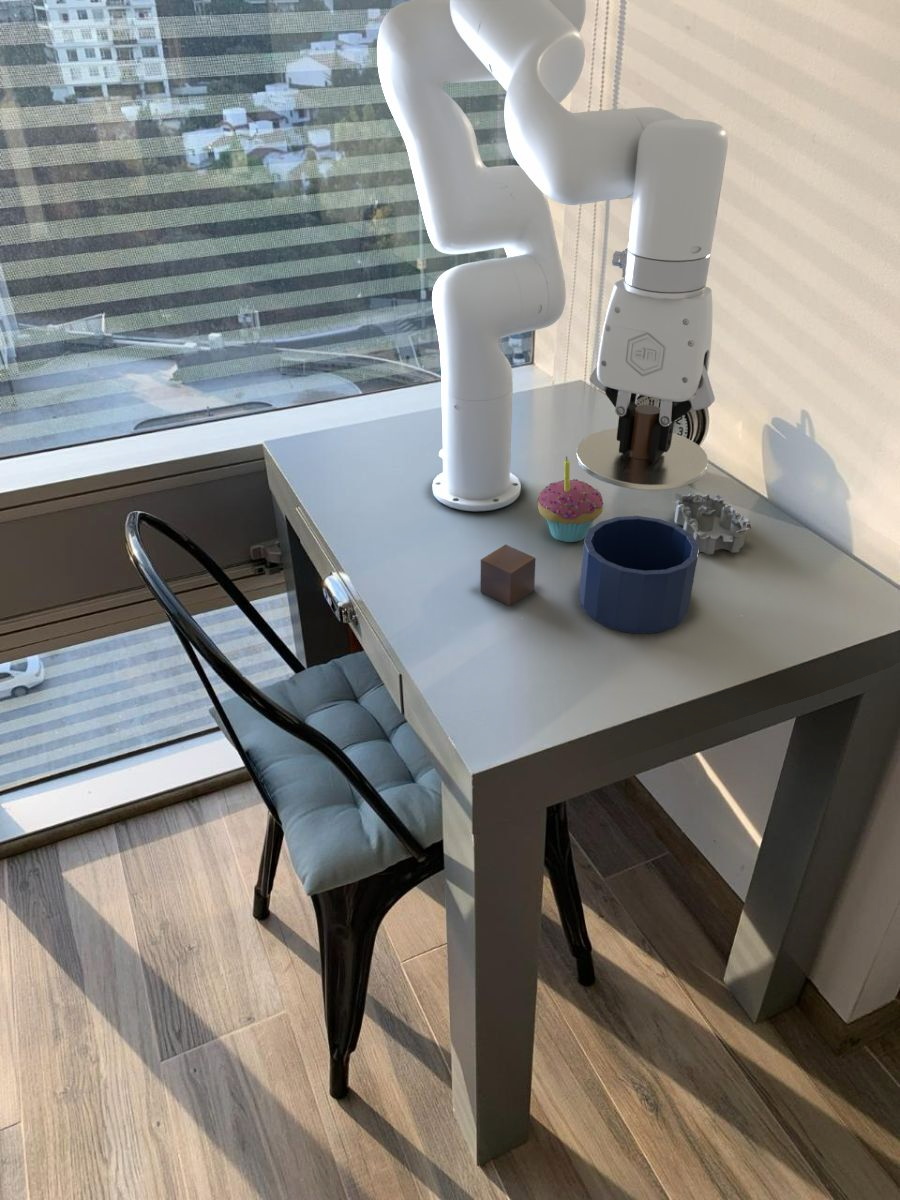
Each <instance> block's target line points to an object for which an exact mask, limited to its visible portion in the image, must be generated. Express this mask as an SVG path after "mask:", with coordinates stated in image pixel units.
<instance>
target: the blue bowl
mask: <svg viewBox="0 0 900 1200" xmlns="http://www.w3.org/2000/svg"><path fill="white" fill-rule="evenodd" d="M699 553H700V551H699V545H698V544H697V542H696V540H695V539H694V537H693V536H692V535H691V534H690V533H688V532H687V531H685V530H684V529H683V528H682V527H681V525H678V524H676V523H672V522H670V521H667V520H664V519H661V518H656V517H648V516H642V515H623V516H616V517H612V518H609V519H604V520H602V521H599V522H598V523H597V524H595V525H593V526H592V527H590V528H589V530H588V532H587V534H586V536H585V538H584V540H583V548H582V559H581V570H580V571H581V572H580V582H579V595H578V596H579V601H580V605H581V607H582V610H583V611H584V612H585V613H586V614H587V616H589V618H591V619H592V620H594V621H595V622H597V623H598V624H600V625H602V626H604V627H607V628H609V629H612V630H615V631H618V632H623V633H628V634H629V633H630V634H638V635H639V634H640V635H641V634H643V635H644V634H656V633H661V632H664V631H668V630H670V629H673V628H674V627H676V626H678V625H680V624H681V623H682V622H683V621H684V620H685V619H686V618H687V615H688V613H689V609H690V603H691V597H692V592H693V585H694V581H695V574H696V570H697V565H698V564H697V563H698V557H699Z"/></svg>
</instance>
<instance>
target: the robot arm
mask: <svg viewBox="0 0 900 1200" xmlns="http://www.w3.org/2000/svg"><path fill="white" fill-rule="evenodd" d="M586 6H587V0H407V1H404V2H400V3H399V4H397V5H396V6H393V7H392V8H391V9H390V10H389V11H388V12H387V13H385V15H384V17H383V19H382V21H381V23H380V26H379V30H378V34H377V43H376V44H377V45H376V54H377V55H376V56H377V58H376V60H377V69H378V76H379V80H380V83H381V84H380V85H381V89H382V91H383V94H384V97H385V100H386V103H387V106H388V108H389V110H390V112H391V115H392V116H393V119H394V121H395V123H396V126H397V127H398V129H399V131H400V134H401V137H402V139H403V141H404V144H405V148H406V150H407V154H408V157H409V164H410V168H411V171H412V175H413V179H414V184H415V189H416V192H417V196H418V200H419V205H420V209H421V213H422V216H423V221H424V225H425V227H426V231H427V235H428V237H429V240H430V242H431V244H432V245H433V247H434V249H436V250H437V251H438V252H440V253H443V254H447V255H461V254H463V255H464V254H472V253H479V252H483V251H484V252H485V251H490V250H497V249H504V251H505V253H506V257H500V258H497V257H496V258H489V259H484V260H477V261H472V262H466V263H463V264H459V265H456V266H454V267H451V268H449V269H447V270H446V271H444V272H443V273H442V274H441V275H440V276H439V277H438V278H437V280H436V282H435V284H434V286H433V290H432V294H431V295H432V296H431V300H432V311H433V316H434V321H435V326H436V331H437V336H438V345H439V354H440V371H441V418H442V419H441V420H442V421H441V422H442V424H441V425H442V431H441V432H442V449H440V450H439V452H438V456H439V458H440V459H442V472H441V473H439V474H438V475H437V476H436V477H435V478H434V479H433V482H432V494H433V496H434V498H435V499H436V500H437V501H438V502H440V503H442V504H443V505H444V506H447V507H449V508H451V509H456V510H459V511H465V512H488V511H494V510H498V509H501V508H504V507H507V506H509V505H511V504H512V503H515V501H516V500H517V499H518V498H519V496H520V495H521V489H522V488H521V486H522V485H521V481H520V479H519V478H518V477H517V476H516V475H515V474H514V473H512V472H511V457H512V456H511V455H512V429H513V426H512V425H513V397H514V374H513V369H512V365H511V363H510V360H509V359H508V357H507V356H506V355H505V354H504V352H503V351H502V349H501V347H500V345H499V340H500V339H502V338H507V337H510V336H514V335H518V334H523V333H528V332H533V331H537V330H542V329H545V328H548V327H550V326H552V325H554V324H555V323H557V321H559V319H560V318H561V316H562V315H563V312H564V310H565V305H566V299H567V298H566V297H567V294H566V293H567V291H566V289H567V288H566V281H565V275H564V271H563V265H562V260H561V255H560V251H559V250H560V249H559V246H558V241H557V236H556V231H555V227H554V222H553V218H552V213H551V212H552V211H551V207H550V205H549V201H548V198H550V199H551V200H553V201H555V202H557V203H559V204H563V205H565V206H567V205H568V206H578V205H585V204H586V205H587V204H593V203H599V202H604V201H606V202H607V201H613V200H625V199H632V202H631V213H630V219H629V229H628V238H627V239H628V241H627V248H625V249H624V250H622V251H618V250H615V251H614V252H613V254H612V258H611V265H612V266H613V267H618V268H619V269H621V270H622V274H621V275H622V276H621V279H620V280H617V281H616V282H615V283H614V285H613V288H612V291H611V295H610V299H609V302H608V306H607V310H606V314H605V319H604V323H603V327H602V333H601V338H600V342H599V343H600V344H599V349H598V356H597V364H596V366H595V367H594V368H593V371H592V373H591V374H590V376H589V382H590V383H591V384H593V386H595V387H596V388H598V389H599V390H600V391H601V392H604V393H605V395H606V397H607V398H608V400H609V401H610V402H611V404H612V405H613V407H614V412H615V414H616V415H617V416H618V423H617V428H618V430H617V441H620V445H619V453H623V454H624V453H627V452H628V451H629V450H630V443H631V435H632V427H633V419H634V411H635V407H637V406H638V405H637V403H638V397H639V396H644V397H648V398H649V397H650V398H655V399H658V400H660V402H659V403H660V404H659V409H660V415H659V417H658V421H657V422H656V423H655V424H654V426H653V430H652V437H651V444H650V452H649V459H650V460H651V461H656V460H657V459H658V458H659V457H660V456H661V455H662V454H663V453H664V452H667V451H668V450H669V448H670V445H671V440H672V433H674V426H675V421H678V419H680V418H681V417H684V415H686V414H688V413H690V412H696V411H701V410H704V409H708V408H709V407H711V406H712V404H713V403H714V402H715V401H716V398H715V394H714V391H713V388H712V384H711V381H710V378H709V374H708V373H709V367H710V359H711V350H712V339H713V338H712V337H713V292H712V288H711V287H708V286H707V281H708V275H709V273H708V272H709V269H710V268H709V266H710V262H711V255H712V248H713V242H714V235H715V229H716V222H717V217H718V210H719V209H718V208H719V203H720V197H721V191H722V185H723V180H724V173H725V172H724V171H725V166H726V161H727V154H728V146H729V138H728V134H727V131H726V129H725V128H724V127H723V126H722V125H720V124H718V123H716V122H713V121H709V120H704V119H694V118H692V119H691V118H684V117H681V116H679V115H677V114H675V113H674V112H672V111H669V110H667V109H663V108H660V107H653V106H648V107H647V106H643V107H642V106H641V107H630V108H614V109H613V108H612V109H611V108H610V109H601V110H590V111H581V112H571V111H570V110H568V109H567V108H565V107H564V106H563V105H562V104H561V103H562V102H563V101H565V99H566V98H567V97H568V96H569V95H570V93H571V92H572V91H573V89H574V88H575V86H576V84H577V83H578V81H579V79H580V77H581V74H582V71H583V68H584V65H585V57H586V53H585V52H586V49H585V44H584V39H583V37H582V34H581V33H580V32H581V31H582V28H583V25H584V22H585V17H586V13H587V12H586V11H587V7H586ZM489 81H497V82H498V83H499V84H500V85H501V87H502V88H503V89H504V91H506V94H505V99H504V110H503V117H504V127H505V133H506V138H507V142H508V146H509V149H510V151H511V154H512V157H513V158H514V160H515V161H516V163H517V164H518V165H515V164H514V165H513V164H512V165H511V164H509V165H499V166H490V167H488V166H487V165H486V164H484V162H483V160H482V158H481V155H480V150H479V147H478V141H477V137H476V133H475V130H474V127H473V124H472V123H471V121H470V119H469V118H468V116H467V114H465V112H464V111H463V108H461V106H460V105H459V103H457V102H456V101H455V100H454V99H453V98H452V97H451V96H450V95H448V93H447V92H446V91H445V90H444V88H443V84H455V83H456V84H457V83H458V84H459V83H474V82H475V83H476V82H489Z"/></svg>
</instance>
